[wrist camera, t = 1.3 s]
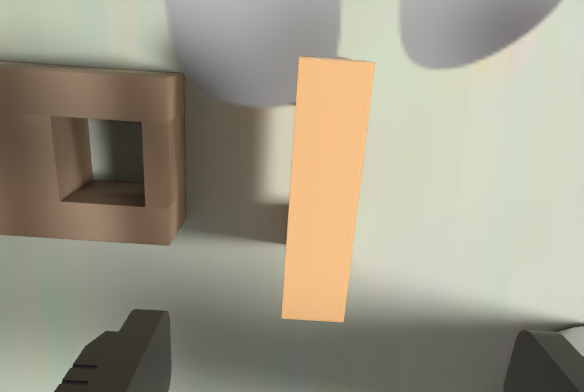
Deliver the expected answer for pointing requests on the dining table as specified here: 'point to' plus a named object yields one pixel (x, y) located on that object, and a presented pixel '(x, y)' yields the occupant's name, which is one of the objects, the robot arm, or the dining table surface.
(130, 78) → the brown slotted wooden block
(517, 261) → the dining table surface
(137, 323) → the robot arm
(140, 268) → the dining table surface
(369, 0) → the dining table surface
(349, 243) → the tan u-shaped block
